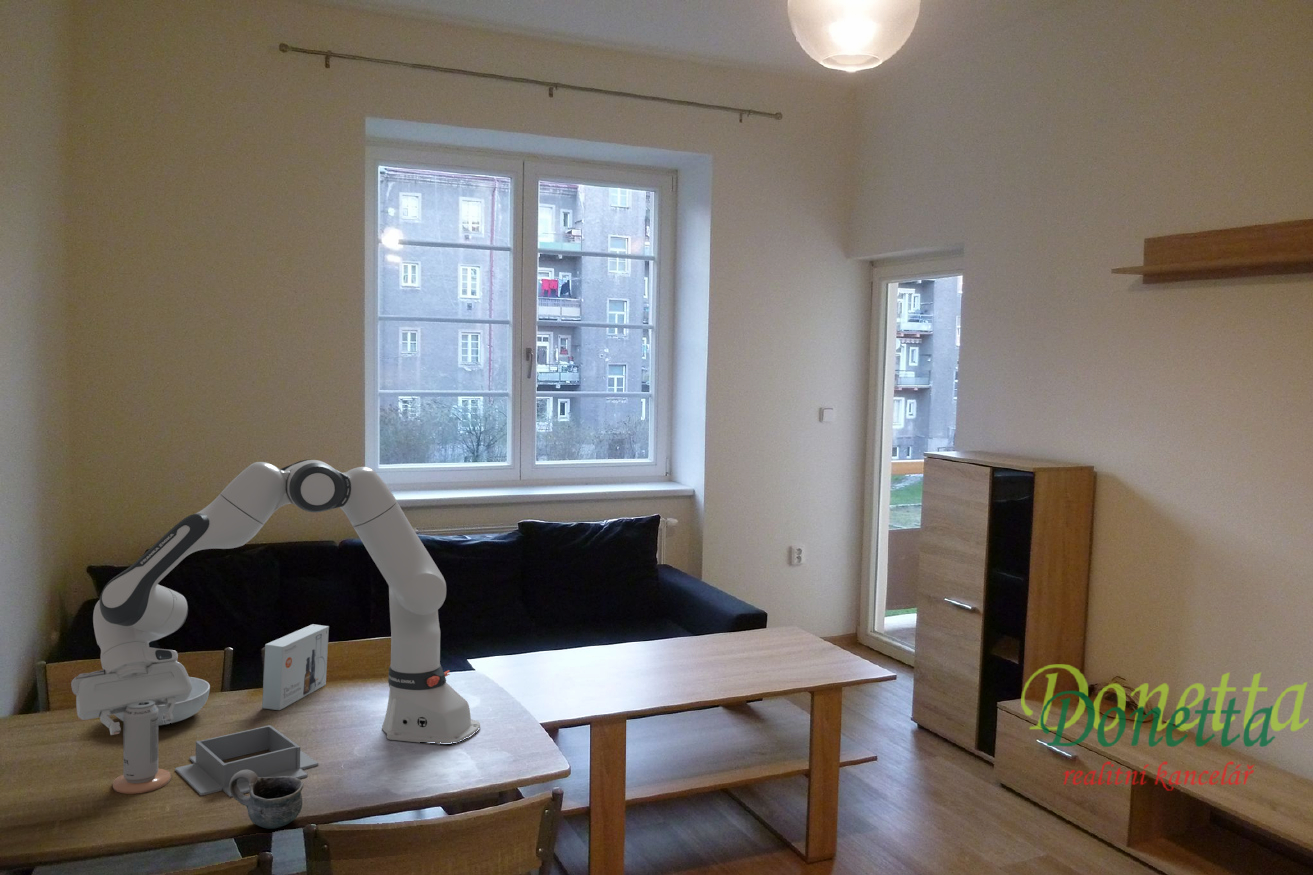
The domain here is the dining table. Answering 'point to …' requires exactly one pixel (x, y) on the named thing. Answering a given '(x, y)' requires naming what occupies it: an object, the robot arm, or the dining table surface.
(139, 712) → the energy drink can
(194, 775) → the grey open box
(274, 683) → the skincare box
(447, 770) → the dining table surface
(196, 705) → the serving bowl
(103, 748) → the dining table surface
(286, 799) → the mug
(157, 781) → the coaster
